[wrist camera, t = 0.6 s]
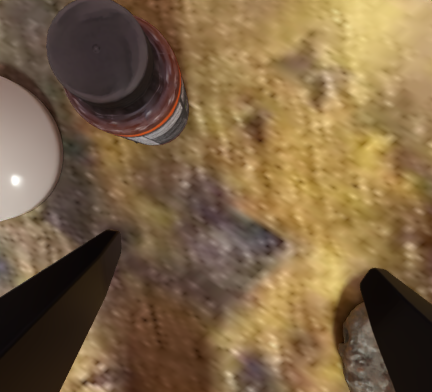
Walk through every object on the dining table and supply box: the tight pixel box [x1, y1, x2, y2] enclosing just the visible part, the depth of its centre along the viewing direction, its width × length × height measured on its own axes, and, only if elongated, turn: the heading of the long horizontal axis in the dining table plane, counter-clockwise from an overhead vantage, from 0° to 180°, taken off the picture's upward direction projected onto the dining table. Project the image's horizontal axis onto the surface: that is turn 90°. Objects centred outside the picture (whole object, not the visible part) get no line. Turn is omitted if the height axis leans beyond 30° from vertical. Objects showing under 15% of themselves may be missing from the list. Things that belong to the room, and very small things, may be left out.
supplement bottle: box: [46, 0, 189, 145], centre depth 15 cm, size 6×6×11 cm
